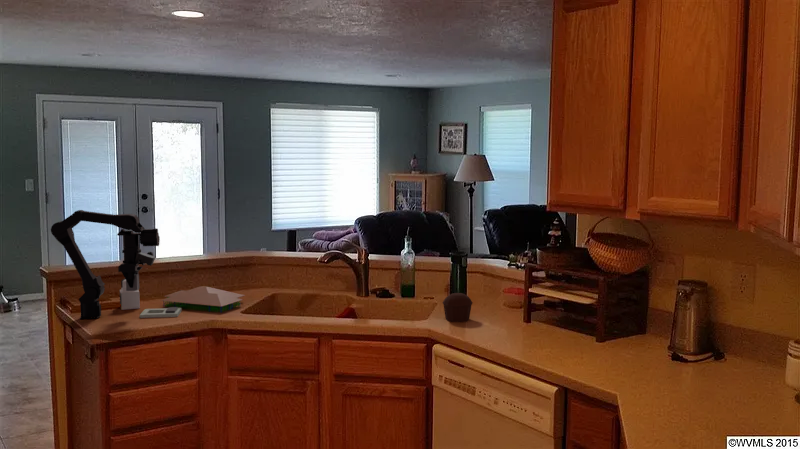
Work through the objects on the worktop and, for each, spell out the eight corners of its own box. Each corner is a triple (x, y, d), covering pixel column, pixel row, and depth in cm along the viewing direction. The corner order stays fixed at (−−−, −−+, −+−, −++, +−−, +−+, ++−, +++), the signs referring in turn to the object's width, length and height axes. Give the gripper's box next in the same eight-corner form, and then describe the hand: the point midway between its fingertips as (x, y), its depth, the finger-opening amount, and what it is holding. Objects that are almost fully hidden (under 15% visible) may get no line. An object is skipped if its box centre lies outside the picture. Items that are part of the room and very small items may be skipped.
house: (191, 297, 322) (190, 279, 322) (254, 303, 310) (254, 284, 309) (155, 307, 301) (154, 288, 301) (221, 314, 289) (221, 294, 288)
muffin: (458, 324, 271) (459, 297, 270) (436, 319, 278) (436, 294, 277) (478, 319, 279) (478, 293, 278) (456, 314, 287) (456, 289, 286)
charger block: (126, 290, 280) (125, 275, 280) (128, 289, 284) (128, 273, 284) (137, 290, 281) (136, 275, 280) (139, 288, 285) (138, 273, 284)
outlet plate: (139, 317, 280) (139, 312, 280) (145, 311, 291) (145, 306, 291) (177, 316, 282) (177, 311, 282) (181, 310, 293) (181, 305, 293)
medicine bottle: (120, 306, 301) (119, 278, 300) (138, 305, 304) (137, 276, 303) (121, 310, 295) (120, 280, 294) (139, 308, 298) (139, 279, 297)
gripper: (148, 249, 273) (149, 290, 274) (157, 243, 291) (158, 281, 293) (117, 250, 271) (118, 291, 273) (128, 243, 290) (129, 282, 291)
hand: (132, 286), depth 282 cm, fingers closed on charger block, 4 cm apart
